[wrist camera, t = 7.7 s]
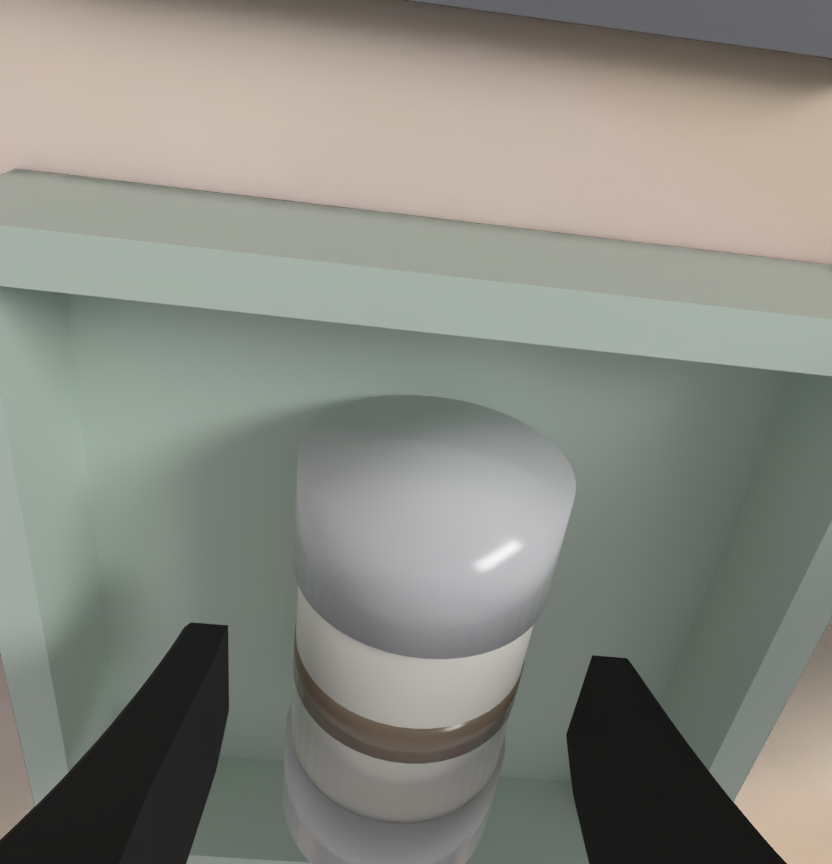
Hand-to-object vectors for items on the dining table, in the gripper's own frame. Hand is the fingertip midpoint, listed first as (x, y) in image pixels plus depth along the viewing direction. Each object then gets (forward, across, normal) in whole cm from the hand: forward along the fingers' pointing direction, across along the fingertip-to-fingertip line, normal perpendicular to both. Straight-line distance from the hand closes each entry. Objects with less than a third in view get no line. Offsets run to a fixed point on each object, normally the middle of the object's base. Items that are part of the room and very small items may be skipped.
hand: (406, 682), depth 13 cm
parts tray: (+3, 0, 0) cm, 3 cm away
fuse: (+3, 0, 0) cm, 3 cm away
